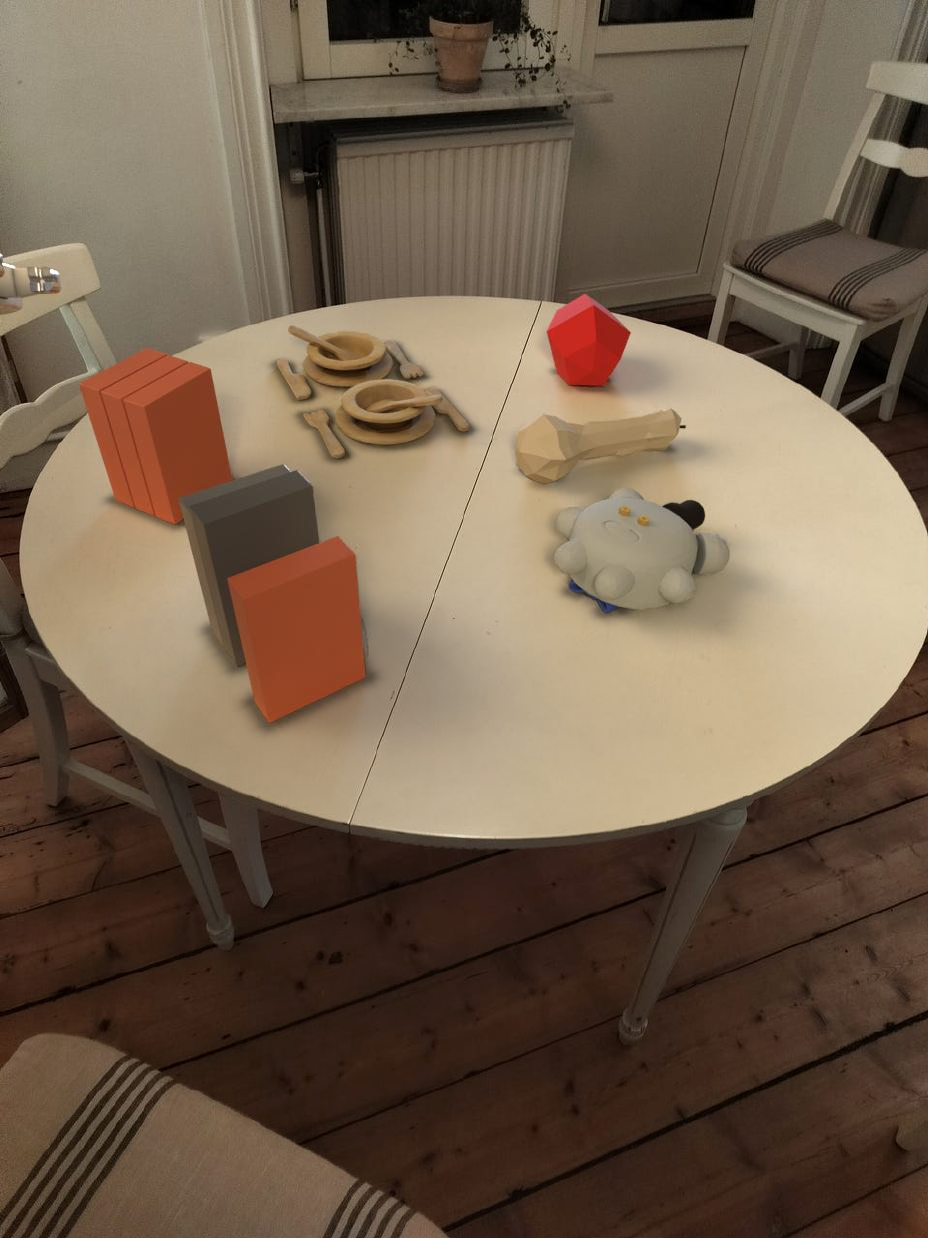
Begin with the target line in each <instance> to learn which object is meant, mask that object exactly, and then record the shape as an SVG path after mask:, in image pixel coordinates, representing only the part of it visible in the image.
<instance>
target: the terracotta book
mask: <svg viewBox="0 0 928 1238" xmlns="http://www.w3.org/2000/svg"><path fill="white" fill-rule="evenodd" d="M357 567H358V566H357V554H356V553H355V552H354V551H353V550H352V549H351V547H349V546H348V545H347V543H346V542H345V541H344V540H343V539H342V538H341V537H340V536H339V535H336V536H333V537H331V538H329V539H326V540H323V541H320V542H319V543H318V544H315V545H313V546H310V547H307V548H305V549H302V550H300V551H297V552H294V553H292V554H289V555H287V556H284V557H281V558H279V559H276V560H274V561H271V562H268V563H266V564H263V565H260V566H258V567H255V568H253V569H250V570H247V571H245V572H242V573H240V574H237V575H234V576H232V577H229V578H227V580H228V584H229V589H230V593H231V598H232V602H233V607H234V611H235V616H236V620H237V625H238V629H239V634H240V638H241V643H242V647H243V651H244V656H245V660H246V663H245V664H246V669H247V674H248V678H249V682H250V688H251V691H252V697H253V701H254V704H255V705H256V706H257V708H258V710H259V711H260V712H261V714H262V716H263V717H264V718H265V719H266V721H267V722H268V724H270V723H272V722H275V721H278V720H279V719H281V718H283V717H286V716H287V715H289V714H292V713H294V712H296V711H298V710H301V709H302V708H305V707H306V706H309V705H310V704H313V703H315V702H317V701H319V700H322V699H323V698H325V697H328V696H329V695H332V694H334V693H336V692H338V691H340V690H342V689H344V688H347V687H348V686H350V685H353V684H355V683H357V682H359V681H361V680H363V679H366V676H367V675H366V666H365V654H364V641H363V630H362V629H363V628H362V618H361V617H362V616H361V604H360V591H359V583H358V582H359V579H358V568H357Z"/></svg>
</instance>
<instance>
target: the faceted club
mask: <svg viewBox="0 0 928 1238" xmlns="http://www.w3.org/2000/svg"><path fill="white" fill-rule="evenodd" d="M681 423H682V417H681V416H680V415H679V413H677V412H676V411H675V410H674V409H672V408H667V409H665V410H658V411H655V412H652V413H648V414H646V415H645V414H644V415H641V416H635V417H630V418H622V419H617V420H615V419H614V420H602V421H585V422H584V423H583V424H581V423H572V422H567V421H565V420H563V419H561V418H559V417H557V416H556V415H550V414H541V415H538V416H535V417H532V418H530V419H529V420H528V421H527V422H526V423H525V424H524V425H523V426H522V427H521V428H520V429H518V431H517V434H516V438H515V442H514V452H515V453H514V454H515V457H516V458H515V459H516V464H515V465H516V467H518V468H519V469H520V470H521V472H522V473H523V474H524V475H525V476H526V477H527V478H530V479H531V480H533V481H535V482H537V483H539V484H542V485H543V484H547V483H552V482H556V481H558V480H560V479H561V478H564V477H565V476H566V475H568V473H570V472H571V470H572V469H573V468H574V467H575V466H576V465H578V463H579V462H580V461H585V460H590V459H597V458H602V457H608V456H609V457H610V456H615V455H617V456H621V457H624V456H627V455H630V454H633V453H636V452H639V451H659V452H660V451H661V452H662V451H664V452H665V451H666V450H667V449H668V448H669V445H670V444H671V443H672V442H673V441H674V440H675V439H676V437H678V435H679V432H680V429H684V430H685V429H686V428H687V425H686V424H681Z"/></svg>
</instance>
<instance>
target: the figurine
mask: <svg viewBox="0 0 928 1238" xmlns="http://www.w3.org/2000/svg"><path fill="white" fill-rule="evenodd" d="M705 520H706V511H705V508H704V506H703V505H702V504H701V503H700V502H698V501H697V500H694V499H687V500H684V501H682V502H680V503H678V502H674V501H673V502H668V503H666V504H665V503H664V504H663V505H660V504H657V503H655V502H652V501H648V500H646V499H644V497H643V496H642V494H640V493H639V491H637V490H635V489H633V488H628V487H627V488H626V487H624V488H619V489H617V490H615V491H614V492H613V493H612V494H611V495H610V496H609V497H608V498H606V499H603V500H599V501H597V502H594V503H592V504H590V505H589V506H587V507H585V508H581V507H577V506H568V507H566V508H564V509H563V510H562V511H561V512H560V513H559V514H558V515H557V518H556V529H557V532H558V533H559V534H560V535H561V536H563V538H564V539H567V540H568V541H566V542H565V543H564V542H563V544H561V545H560V546H559V547H558V548H557V549H556V551H555V553H554V557H553V559H554V565H555V566H556V568H557V569H558V570H559V571H560V572H561V573H565V574H568V575H569V576H570V578H571V581H570V582H569V584H568V588H569V590H571V591H572V592H573V593H584V594H585V595H586V596H588V597H589V598H591V599H592V600H594V601H595V602H596V601H597V602H598V604H599V606H600V607H599V608H600V609H601V610H602V611H603V612H604V613H605V614H608V613H611V612H613V611H616V610H618V609H619V608H626V609H630V610H638V611H639V610H640V611H642V610H654V609H659V608H663V607H665V606H668V605H671V604H672V603H673V604H682V603H685V602H687V601H688V600H689V599H690V598H692V596H693V594H694V593H695V589H696V580H695V578H694V576H693V574H692V572H694V574H696V575H707V576H711V575H714V574H717V573H719V572H721V571H722V570H723V569H724V568H726V566H727V565H728V563H729V560H730V554H731V553H730V552H731V551H730V547H729V545H728V543H727V541H726V540H724V538H722V537H721V536H720V535H718V534H715V533H711V532H699V533H697V534H695V532H694V531H695V530H696V529H698V528H700V527H701V525H703V524H704V522H705Z"/></svg>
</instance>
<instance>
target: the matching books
mask: <svg viewBox="0 0 928 1238" xmlns="http://www.w3.org/2000/svg"><path fill="white" fill-rule="evenodd" d="M78 386H79V390H80V393H81V396H82V398H83V402H84V405H85V409H86V411H87V414H88V417H89V421H90V424H91V428H92V430H93V434H94V436H95V439H96V442H97V447H98V449H99V453H100V456H101V459H102V463H103V465H104V468H105V471H106V474H107V477H108V482H109V484H110V487H111V490H112V493H113V497H114V500H115V501H116V502H119V503H122V504H123V505H127V506H129V507H131V508H135V509H136V510H139V511H141V512H144V513H146V514H148V515H151V516H154V517H156V518H157V519H161V520H162V521H166V522H168V523H170V524H173V525H177V524H178V523H180V522H181V521H182V520H184V519H183V515H182V511H181V507H180V503H179V498H181V497H184V496H187V495H190V494H193V493H196V492H199V491H202V490H206V489H209V488H212V487H215V486H218V485H221V484H224V483H227V482H230V481H233V480H234V479H233V475H232V470H231V466H230V465H231V464H230V459H229V455H228V450H227V444H226V439H225V434H224V429H223V424H222V419H221V414H220V409H219V404H218V399H217V393H216V389H215V382H214V379H213V372H212V368H211V367H207V366H205V365H202V364H198V363H195V362H192V361H189V360H186V359H183V358H180V357H178V356H173V355H171V354H167V353H165V352H161V351H158V350H155V349H153V348H152V349H151V348H149V347H146V348H144V349H142V350H140V351H138V352H137V353H135V354H133V355H131V356H129V357H127V358H125V359H123V360H121V361H119V362H117V363H115V364H114V365H112V366H110V367H108V368H106V369H104V370H102V371H100V372H98V373H96V374H94V375H92V376H89V378H86V379H84V380H83V381H81V382H79V383H78Z"/></svg>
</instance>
